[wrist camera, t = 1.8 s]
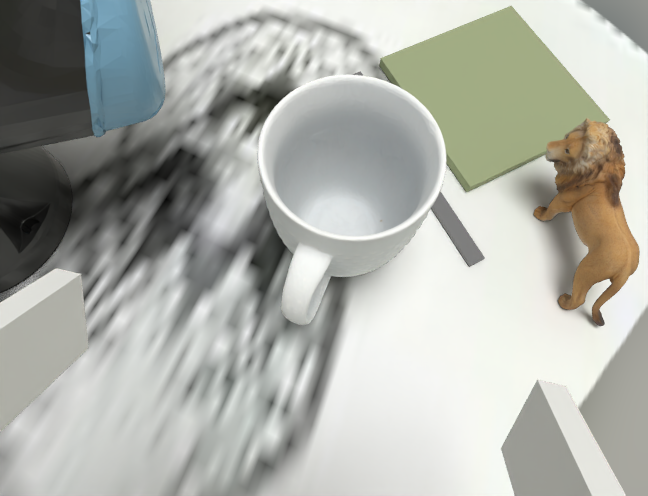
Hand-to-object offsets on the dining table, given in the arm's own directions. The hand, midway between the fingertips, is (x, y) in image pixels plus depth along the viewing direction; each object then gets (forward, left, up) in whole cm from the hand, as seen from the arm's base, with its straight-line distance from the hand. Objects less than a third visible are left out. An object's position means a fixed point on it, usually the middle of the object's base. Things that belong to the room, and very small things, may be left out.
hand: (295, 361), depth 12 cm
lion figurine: (0, +25, -21) cm, 32 cm away
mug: (-9, +7, -21) cm, 24 cm away
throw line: (-13, +17, -21) cm, 30 cm away
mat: (-16, +28, -21) cm, 38 cm away
